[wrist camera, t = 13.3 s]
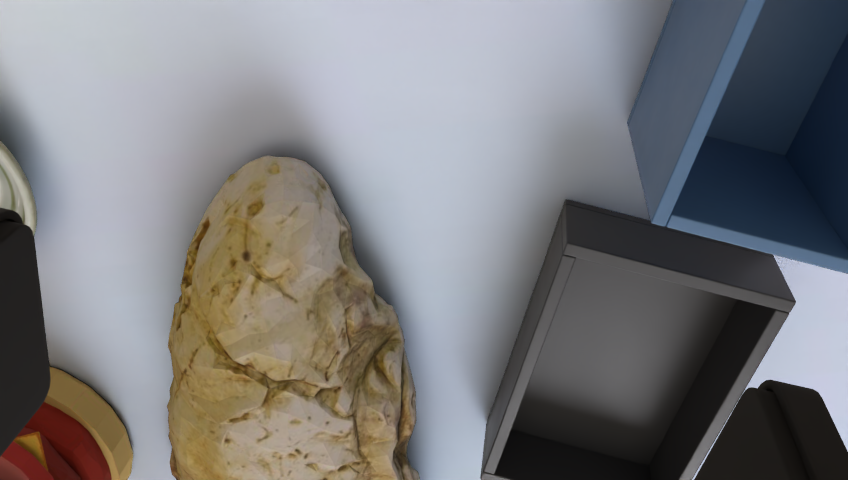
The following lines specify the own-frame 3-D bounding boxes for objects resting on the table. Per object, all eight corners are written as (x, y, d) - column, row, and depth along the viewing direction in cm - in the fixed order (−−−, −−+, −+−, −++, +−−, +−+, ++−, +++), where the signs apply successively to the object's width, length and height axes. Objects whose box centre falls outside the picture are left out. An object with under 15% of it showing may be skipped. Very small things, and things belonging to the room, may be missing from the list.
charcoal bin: (565, 198, 34) (566, 242, 30) (772, 251, 33) (797, 301, 30) (486, 424, 41) (480, 479, 38) (654, 468, 41) (663, 528, 38)
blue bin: (747, -198, 25) (832, -203, 18) (949, -150, 25) (1124, -132, 17) (626, 122, 31) (650, 223, 24) (788, 163, 31) (864, 278, 24)
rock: (155, 678, 43) (-34, 258, 27) (204, 534, 51) (81, 142, 35) (426, 690, 42) (401, 261, 26) (433, 541, 50) (418, 141, 34)
